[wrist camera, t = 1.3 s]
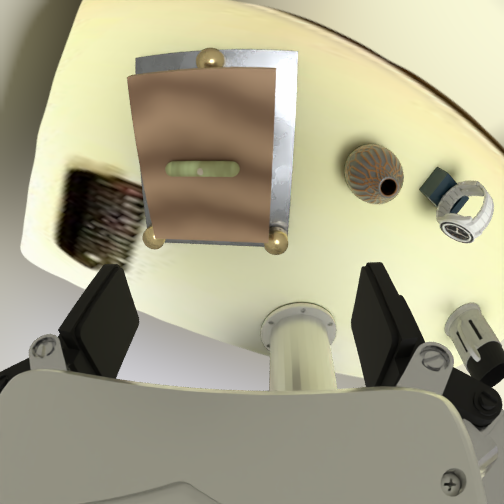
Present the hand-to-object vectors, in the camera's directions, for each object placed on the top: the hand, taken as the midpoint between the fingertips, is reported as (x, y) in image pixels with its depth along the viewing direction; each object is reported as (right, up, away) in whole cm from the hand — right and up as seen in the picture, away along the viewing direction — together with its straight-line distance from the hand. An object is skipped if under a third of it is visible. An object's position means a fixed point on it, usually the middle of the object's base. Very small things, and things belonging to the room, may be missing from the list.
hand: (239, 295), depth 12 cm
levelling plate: (-4, +11, +20) cm, 23 cm away
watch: (+27, +10, +25) cm, 38 cm away
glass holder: (+39, -10, +36) cm, 55 cm away
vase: (+15, +13, +25) cm, 32 cm away
